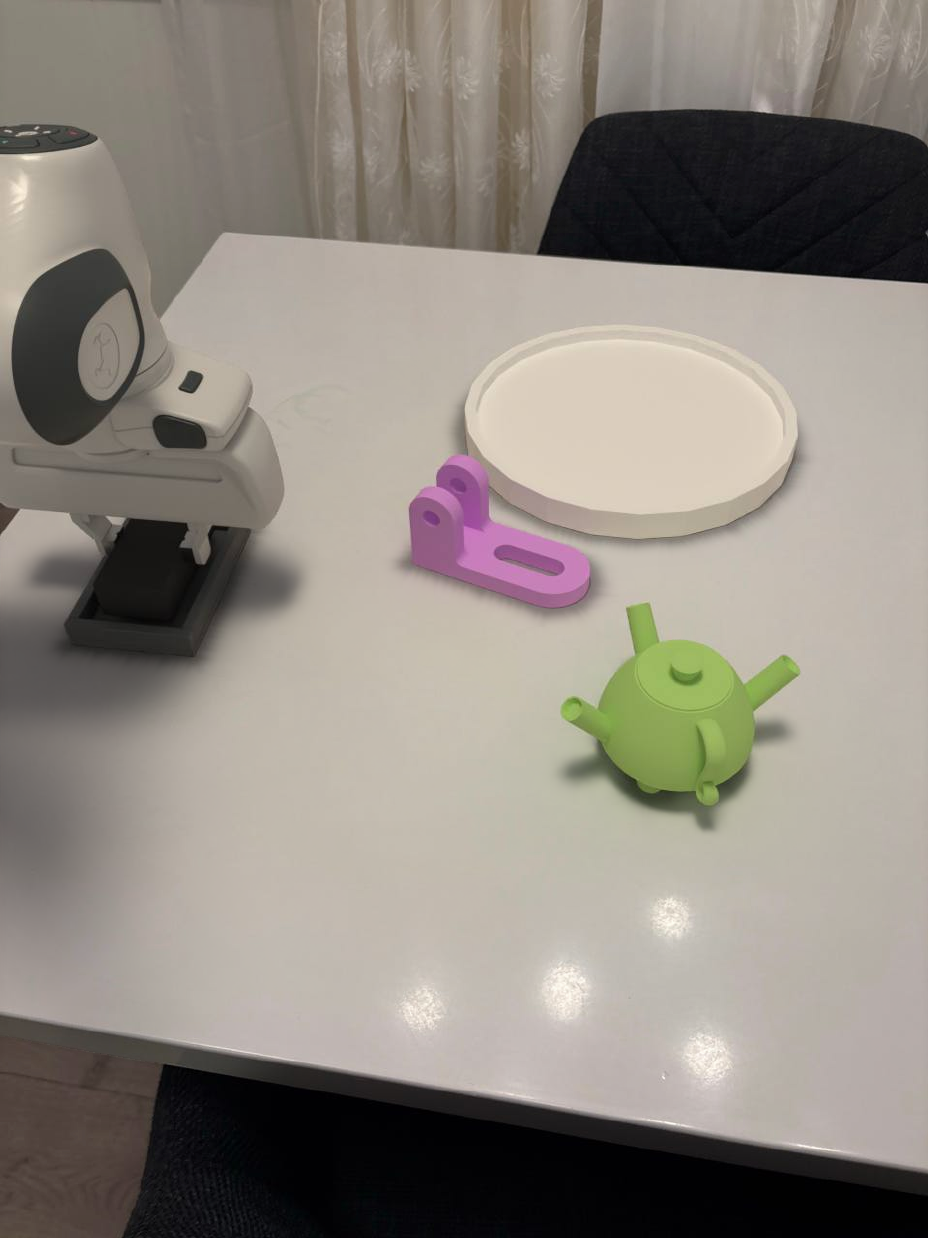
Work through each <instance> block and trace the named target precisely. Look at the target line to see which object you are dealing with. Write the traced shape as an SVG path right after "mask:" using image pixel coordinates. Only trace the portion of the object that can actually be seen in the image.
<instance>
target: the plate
mask: <svg viewBox="0 0 928 1238" xmlns="http://www.w3.org/2000/svg"><path fill="white" fill-rule="evenodd" d="M463 409H464V433H465V440H466V441H465V442H466V447H467V449H466V450H467V456H469V457H471V458H473V459H475V460H476V461H478V462H479V463H480V464H481V465H482V466H483V468H484V469H485V471H486V473H487V475H488V479H489V488H491V489H492V490H494V491H495V492H496V493H497V494H498V495H499V496H501V497H502V498H503V499H504V500H505V501H506V502H507V503H508V504H510V505H512V506H514V507H516V508H518V509H520V510H522V511H523V512H526V513H528V514H529V515H532V516H533V517H535V518H538V519H540V520H541V521H543V522H545V523H548V524H552V525H555V526H559V527H561V528H566V529H570V530H573V531H577V532H580V533H584V534H587V535H593V536H602V537H603V536H604V537H612V538H613V537H614V538H621V539H622V538H623V539H632V540H645V539H646V540H647V539H659V538H672V537H685V536H690V535H693V534H696V533H700V532H705V531H708V530H711V529H716V528H719V527H723V526H727V525H729V524H730V523H732V522H734V521H736V520H738V519H740V518H742V517H744V516H746V515H747V514H749V513H752V512H754V511H755V510H757V509H759V508H760V507H762V505H763V504H764V503H765V502H767V500H769V498H770V497H771V496H772V495H773V494H774V493H776V491H777V490H778V489H780V488H781V486H782V485H783V483H784V480H785V478H786V476H787V473H788V471H789V468H790V466H791V463H792V461H793V458H794V453H795V450H796V446H797V442H798V437H799V431H798V416H797V410H796V408H795V405H794V403H793V402H792V400H791V398H790V397H789V395H788V392H787V391H786V389H785V387H784V386H783V385H782V384H781V383H780V382H779V381H778V380H777V379H776V378H775V377H773V375H772V374H770V372H768V371H767V370H766V368H764V367H763V366H762V365H761V364H759V363H757V362H756V361H754V360H752V359H751V358H749V357H747V356H745V355H744V354H742V353H740V352H739V351H737V350H735V349H734V348H732V347H729V346H726V345H724V344H721V343H719V342H716V341H713V340H710V339H708V338H705V337H703V336H700V335H696V334H692V333H688V332H683V331H678V330H673V329H669V328H663V327H659V326H658V327H657V326H647V325H645V326H644V325H633V324H632V325H631V324H606V325H605V324H604V325H590V326H589V325H588V326H579V327H574V328H570V329H569V328H568V329H564V330H560V331H555V332H549V333H545V334H543V335H540V336H537V337H535V338H532V339H530V340H528V341H525V342H522V343H519V344H517V345H514V346H513V347H511V348H509V350H506V351H505V352H504V353H502V354H501V355H499V356H498V357H496V358H494V359H493V360H492V361H491V362H489V363H488V364H487V365H486V366H485V368H483V370H482V371H481V372H480V373H479V375H477V377H476V378H475V380H473V382H472V383H471V386H470V388H469V392H468V396H467V398H466V401H465V404H464V408H463Z"/></svg>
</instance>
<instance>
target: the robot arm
mask: <svg viewBox="0 0 928 1238" xmlns="http://www.w3.org/2000/svg"><path fill="white" fill-rule="evenodd" d="M114 161H115V160H114V159H113V157H112V155H111V153H110V151H109V149H108V147H107V146H106V144H105V143H104V141H103V140H102V139H101V138H100V137H99V136H98V135H95V134H93V133H92V132H89V131H87V130H85V129H83V128H80V127H76V126H72V125H66V124H65V125H63V124H47V123H46V124H40V123H39V124H37V123H36V124H35V123H34V124H33V123H28V124H27V123H26V124H24V123H23V124H22V123H21V124H20V125H9V126H7V125H3V126H0V504H2V505H3V506H4V507H6V508H9V509H16V510H17V509H18V510H30V511H39V512H40V511H41V512H53V513H64V514H69V516H70V519H71V522H72V523H73V524H74V525H76V526H77V527H78V528H79V529H80V530H81V531H82V532H84V533H85V534H86V535H87V536H88V537H89V538H91V539H92V540H94V542H95V545H96V548H97V551H98V553H99V556H101V557H104V556H109V555H110V553H111V551H112V550H113V548H114V546H115V545H116V543H117V542H118V540H119V538H120V536H121V535H122V533H123V531H124V527H123V526H122V524H115V523H112V522H111V521H110V519H109V518H108V517H112V518H123V519H126V518H134V519H146V520H158V521H169V522H181V523H187V525H188V529H189V530H190V531H187V533H186V535H185V540H183V541H182V543H181V545H180V547H179V548H180V551H181V552H182V555H183V556H184V557H183V559H184V562H185V563H192V564H201V565H204V564H205V563H206V561H207V559H208V557H209V555H210V544H209V540H208V536H207V534H208V532H209V530H210V528H211V526H212V525H217V526H228V527H240V528H250V530H251V529H252V530H263V529H266V528H267V527H268V526H269V525H270V524H271V523H272V522H273V520H274V519H275V518H276V516H277V514H278V512H279V511H280V508H281V506H282V503H283V500H284V496H285V482H284V474H283V470H282V465H281V462H280V458H279V455H278V451H277V448H276V445H275V442H274V439H273V436H272V434H271V431H270V428H269V426H268V424H267V423H266V421H265V420H264V418H263V417H262V416H261V415H260V414H259V413H258V412H257V411H256V410H255V409H253V408H252V407H250V403H251V400H252V397H253V393H254V387H253V386H254V385H253V381H252V378H251V376H250V374H249V373H248V372H247V371H245V370H244V369H242V368H240V367H237V366H234V365H231V364H228V363H225V362H222V361H219V360H217V359H214V358H211V357H208V356H206V355H203V354H200V353H198V352H195V351H193V350H191V349H188V348H186V347H184V346H182V345H179V344H177V343H175V342H174V341H172V340H168V337H167V333H166V330H165V328H164V326H163V324H162V322H161V320H160V319H159V317H158V315H157V314H156V312H155V310H154V308H153V304H152V300H151V299H152V298H151V284H152V275H151V269H150V265H149V261H148V257H147V253H146V249H145V245H144V242H143V239H142V235H141V231H140V228H139V225H138V221H137V217H136V215H135V212H134V209H133V206H132V203H131V200H130V197H129V195H128V192H127V190H126V187H125V184H124V182H123V179H122V178H121V174H120V172H119V170H118V167H117V166H116V163H115V162H114ZM196 531H197V532H196Z"/></svg>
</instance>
